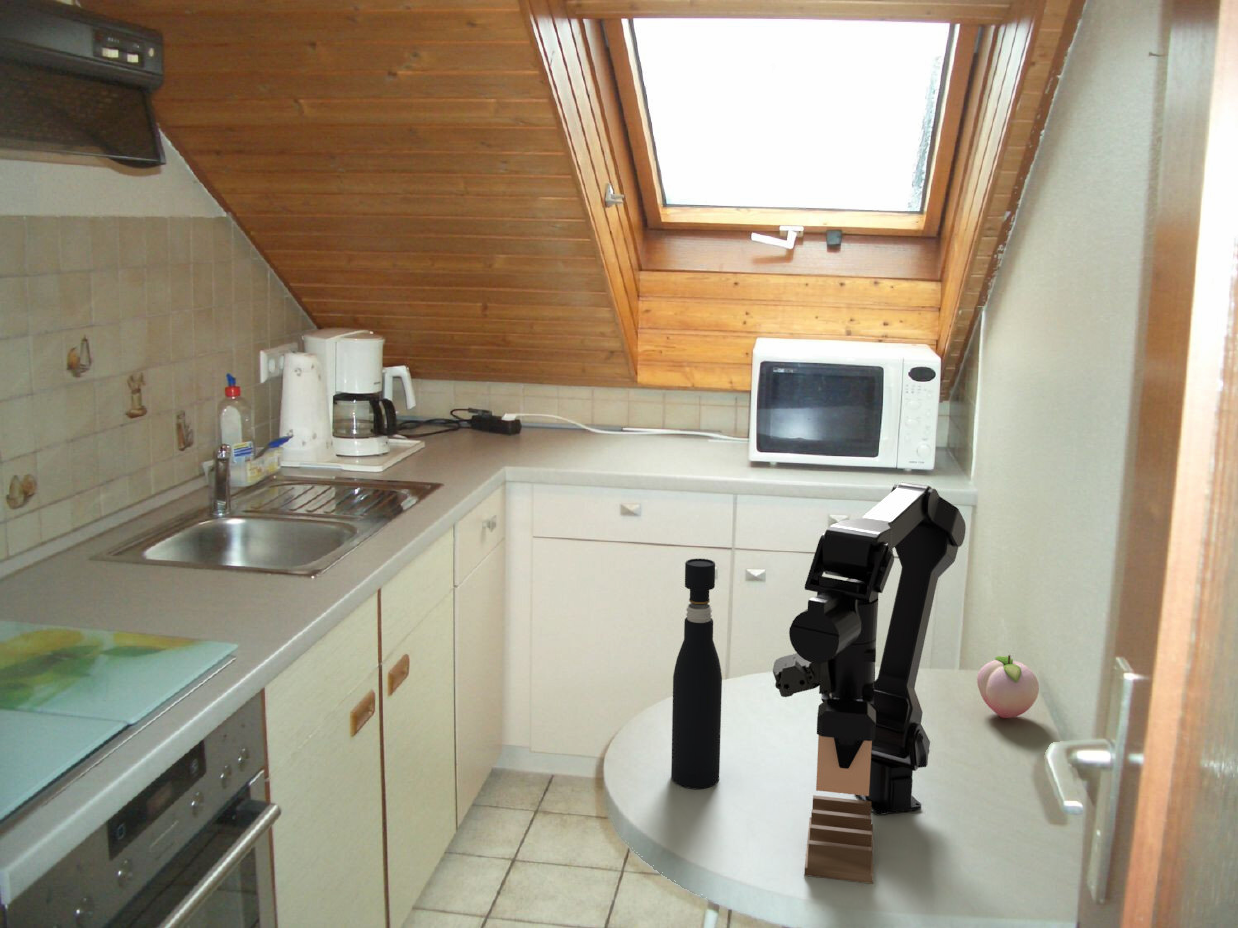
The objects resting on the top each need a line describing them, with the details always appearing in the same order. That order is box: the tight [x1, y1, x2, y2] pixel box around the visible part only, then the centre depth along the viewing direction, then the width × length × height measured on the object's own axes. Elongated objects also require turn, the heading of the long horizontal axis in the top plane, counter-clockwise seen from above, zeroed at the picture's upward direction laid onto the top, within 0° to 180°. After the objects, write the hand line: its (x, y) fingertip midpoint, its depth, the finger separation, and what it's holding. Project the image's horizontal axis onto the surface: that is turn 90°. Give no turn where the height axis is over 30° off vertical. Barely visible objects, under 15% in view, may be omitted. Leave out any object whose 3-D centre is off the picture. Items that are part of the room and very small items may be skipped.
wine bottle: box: [670, 558, 723, 790], centre depth 149 cm, size 6×6×30 cm
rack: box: [803, 794, 874, 884], centre depth 134 cm, size 12×8×4 cm, turn 168°
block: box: [815, 735, 872, 796], centre depth 132 cm, size 2×6×8 cm, turn 78°
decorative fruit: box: [976, 654, 1040, 719], centre depth 171 cm, size 9×8×10 cm
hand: (844, 763), depth 132 cm, fingers closed on block, 2 cm apart
